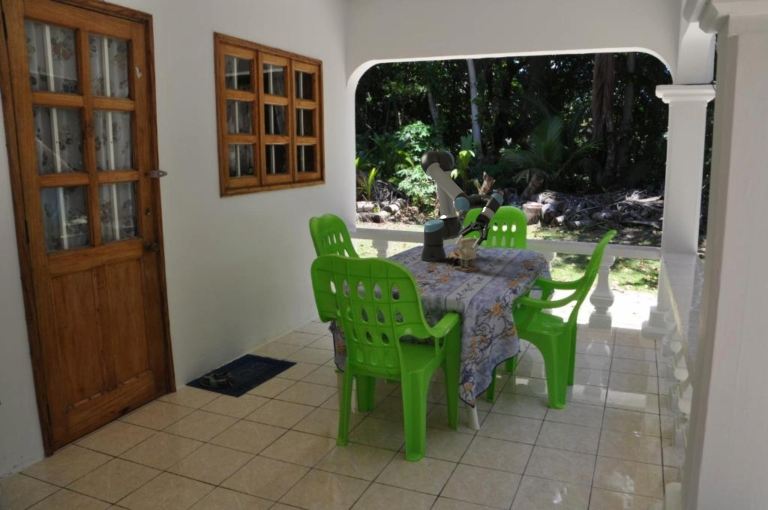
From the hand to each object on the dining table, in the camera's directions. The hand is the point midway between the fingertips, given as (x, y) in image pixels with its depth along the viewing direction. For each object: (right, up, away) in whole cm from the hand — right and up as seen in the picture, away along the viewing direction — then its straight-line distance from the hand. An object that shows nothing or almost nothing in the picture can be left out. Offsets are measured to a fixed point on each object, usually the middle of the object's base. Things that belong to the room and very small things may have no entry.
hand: (465, 247), depth 344 cm
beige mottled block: (+2, -6, +3) cm, 7 cm away
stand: (+2, -13, +4) cm, 13 cm away
